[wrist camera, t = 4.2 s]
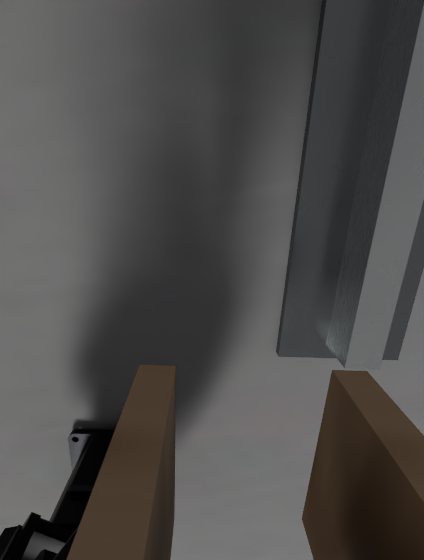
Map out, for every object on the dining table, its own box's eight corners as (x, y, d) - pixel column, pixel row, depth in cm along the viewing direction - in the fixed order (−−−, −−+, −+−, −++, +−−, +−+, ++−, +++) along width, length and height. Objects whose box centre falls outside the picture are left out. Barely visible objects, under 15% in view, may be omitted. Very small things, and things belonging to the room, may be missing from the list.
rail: (392, 355, 20) (426, 385, 17) (276, 351, 19) (289, 381, 16) (506, -69, 13) (599, -148, 10) (333, -84, 13) (373, -170, 10)
